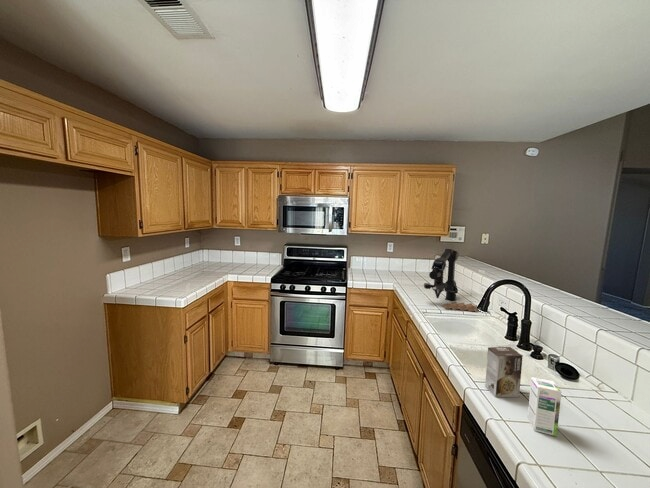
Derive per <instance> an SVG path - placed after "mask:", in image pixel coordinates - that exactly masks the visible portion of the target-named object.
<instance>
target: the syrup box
mask: <svg viewBox="0 0 650 488" xmlns="http://www.w3.org/2000/svg"><path fill="white" fill-rule="evenodd" d="M561 400H562V390H561V389H560V387H559V386H558V385H557V383H556V382H554V380H547V379H542V378H538V377H537V378H536V377H533V376H532V377H531V378H530V389H529V400H528V401H529V402H528V411H527V412H528V414H527V419H528V420H527V421H528V422H529V424H530V425H531V428H532V430H533V431H534V432H539V433H543V434H547V435H551V436H554V437H558V431H559V430H558V429H559V421H560V420H559V419H560V418H559V417H560V408H561V402H562V401H561Z"/></svg>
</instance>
